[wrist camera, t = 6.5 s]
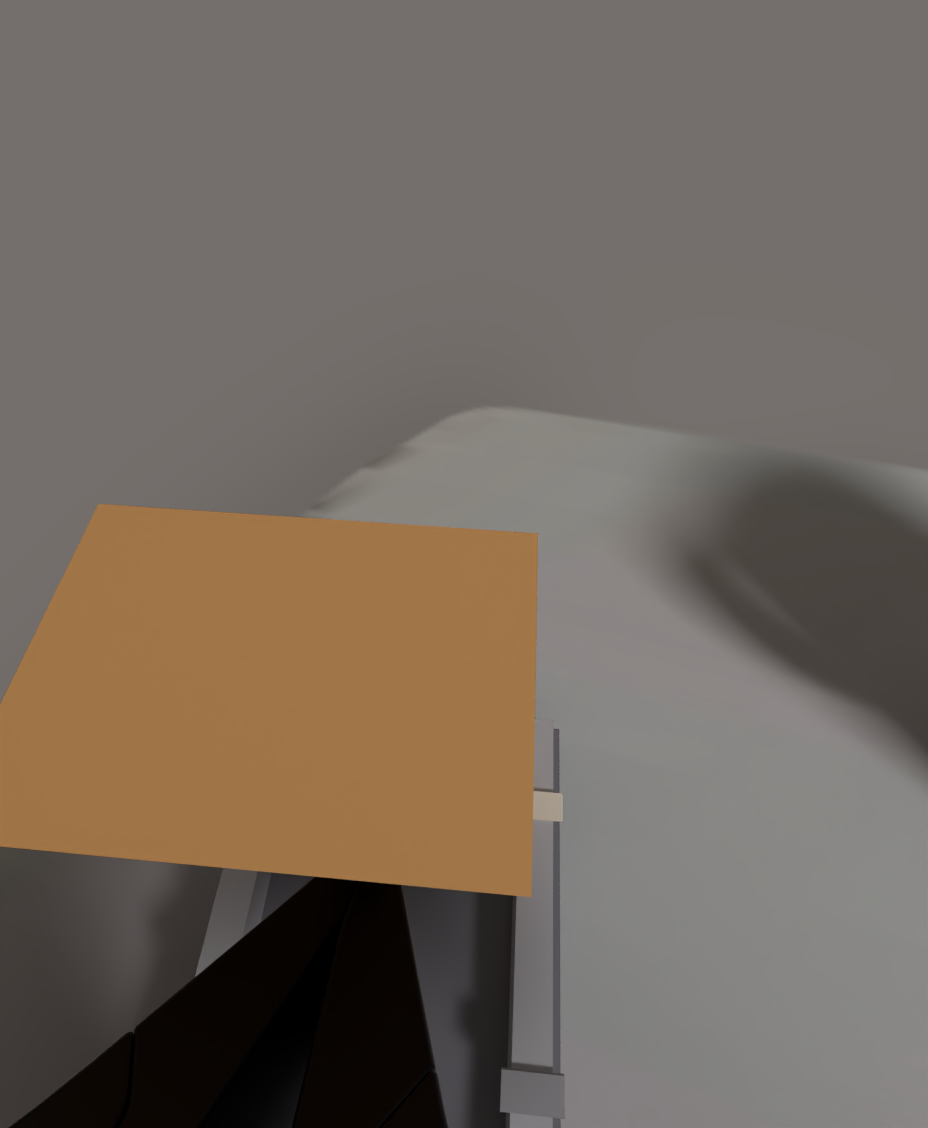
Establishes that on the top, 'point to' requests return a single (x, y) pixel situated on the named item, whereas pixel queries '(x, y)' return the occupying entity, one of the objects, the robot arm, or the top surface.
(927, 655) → the top surface
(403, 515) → the top surface
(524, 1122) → the rail
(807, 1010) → the top surface
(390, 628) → the fader tab
